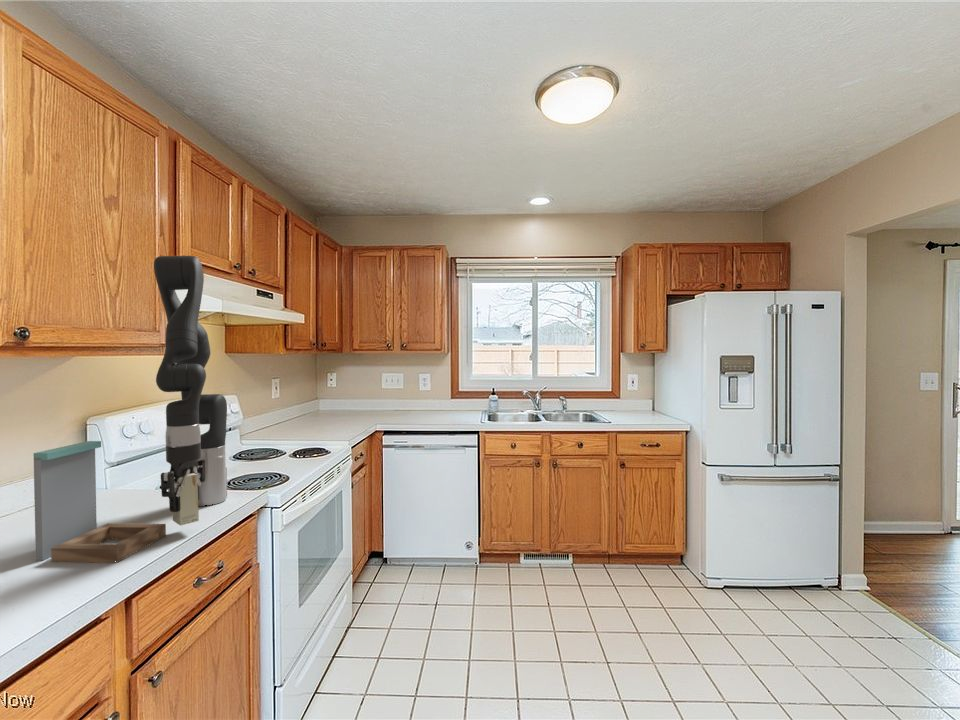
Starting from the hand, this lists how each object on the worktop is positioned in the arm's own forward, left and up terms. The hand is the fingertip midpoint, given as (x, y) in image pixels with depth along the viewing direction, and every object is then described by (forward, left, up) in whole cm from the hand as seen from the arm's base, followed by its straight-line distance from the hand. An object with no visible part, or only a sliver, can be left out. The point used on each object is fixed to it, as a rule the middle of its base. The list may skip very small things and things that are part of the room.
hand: (185, 505), depth 119 cm
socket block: (+9, -11, -7) cm, 16 cm away
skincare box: (0, 0, -4) cm, 4 cm away
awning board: (+9, -22, -7) cm, 25 cm away
